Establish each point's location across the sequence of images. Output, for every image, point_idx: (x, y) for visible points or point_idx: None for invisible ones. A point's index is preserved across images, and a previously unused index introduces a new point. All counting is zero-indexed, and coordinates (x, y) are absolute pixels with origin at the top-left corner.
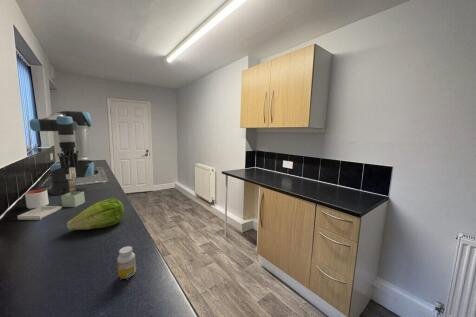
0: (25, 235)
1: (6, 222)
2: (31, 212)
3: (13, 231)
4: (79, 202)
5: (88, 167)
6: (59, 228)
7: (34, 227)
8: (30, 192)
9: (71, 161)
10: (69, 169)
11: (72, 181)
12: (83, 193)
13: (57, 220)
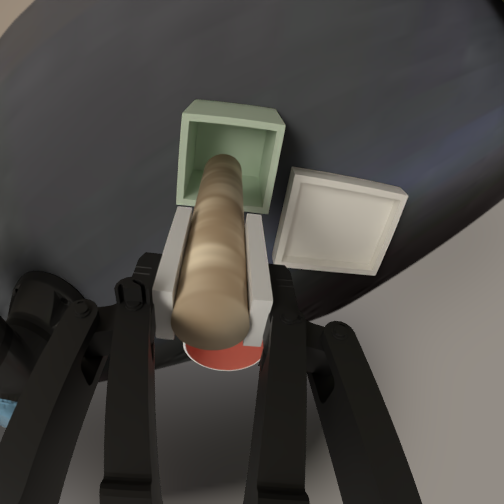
0: (501, 161)
1: (380, 281)
2: (329, 261)
3: (463, 212)
4: (240, 107)
5: None
6: (490, 79)
7: (459, 167)
8: (215, 362)
9: (152, 410)
10: (270, 295)
11: (234, 198)
12: (191, 111)
13: (424, 116)
